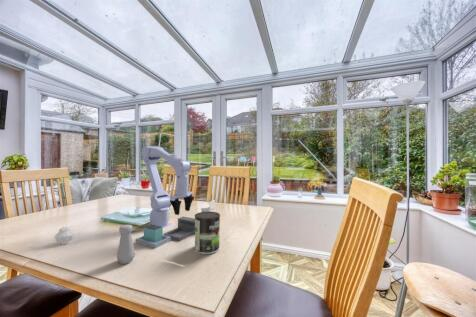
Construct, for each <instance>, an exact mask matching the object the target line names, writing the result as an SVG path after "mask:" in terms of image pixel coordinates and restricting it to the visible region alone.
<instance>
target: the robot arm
mask: <svg viewBox="0 0 476 317" xmlns="http://www.w3.org/2000/svg"><path fill="white" fill-rule="evenodd" d="M141 156H142V160H143V163H144V165H145V168H146V172H147V175H148V179H149V182H150V187H151V189H152V191H153V194H152V195H151V196H150V197H149V199H150V208H151V209H152V210H150V214H149V225H151V224H152V225H156V226H161V227H163V229H164V228H167V227H170V226H173V224H172V223H170V222H169V221H170V220H169V218H170V217H169V209H170V207H172V209H173V213H174V215H177V216H179V215H180V211H181V210H180V209H181V204H182V202H183V201H184V210H185V211H186V212H190V210H191V207H192V203H193V202H194V199H195V197H194V191H189V182H190V181H189V177H190V176H189V172H190V171H191V169H192V164H191V162H190V161H189V160H187V159H186V160H184V159H183V158H180V157H178V154H176V153H173V154H172V153H171V154H170V153H169V152H167V151H166V150H165V149H164V148H163V147H162V146H151V145H149V146H148V145H144V146H143V147H142V149H141ZM161 159H164V160H165V161H166V164H167V165H169V166H170V167H171V168H173V169H174V172H175V177H176V194H173V195H171V196H170V194H169V192H168V191H166V190H165V189H164V187H163V183H162V180H161V177H160V173H159V170H158V166H157V163H159V162H160V160H161ZM180 199H183V201H182V200H180Z"/></svg>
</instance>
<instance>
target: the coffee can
mask: <svg viewBox="0 0 476 317" xmlns="http://www.w3.org/2000/svg"><path fill="white" fill-rule="evenodd" d="M194 218H195V233H194V250H195V252H196V253H199V254H201V255H212V254H216V253H217V252H218V251H219V250H220V226H221V225H220V224H221V223H220V222H221V221H220V220H221V214H220V213H219V212H216V211H215V212H201V211H200V212H197V213H195V215H194Z"/></svg>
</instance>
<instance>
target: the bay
mask: <svg viewBox="0 0 476 317" xmlns="http://www.w3.org/2000/svg"><path fill="white" fill-rule="evenodd" d="M163 235H165V236H170V237H171V240H173V241H177V242H181V241H183V240H185V239H187V238H189V237H190V236H192V235H195V217H188V216H181V217H179V218H178V217H177V227H176V228H174V229H171V230H169V231H167V232H165V233H163Z"/></svg>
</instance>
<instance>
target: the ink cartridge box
mask: <svg viewBox="0 0 476 317" xmlns="http://www.w3.org/2000/svg"><path fill="white" fill-rule="evenodd" d="M200 210H201V211H200V212H216V201H215V198H214V199H212V200H211V201H209V204H208V203H207V204H205V205H204V206H202V207H201V209H200Z"/></svg>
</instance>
